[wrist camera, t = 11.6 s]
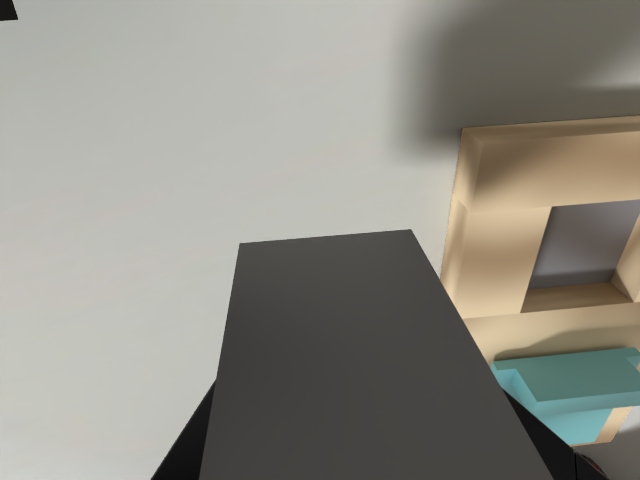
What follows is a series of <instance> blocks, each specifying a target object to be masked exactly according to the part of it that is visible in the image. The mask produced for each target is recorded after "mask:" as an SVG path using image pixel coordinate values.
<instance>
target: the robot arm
mask: <svg viewBox="0 0 640 480" xmlns="http://www.w3.org/2000/svg"><path fill="white" fill-rule="evenodd" d="M215 383H216V380H215V381H214V383H213V384H212V386H211V387H210V389H209V391H208V392H207V394H206V395H205V397H204V398H203V400H202V401H201V403H200V404H199V406H198V407H197V409H196V411H195V412H194V414H193V415H192V417H191V418H190V420H189V421H188V423H187V424H186V426H185V427H184V429H183V431H182V432H181V434H180V435H179V437H178V438H177V440H176V441H175V443H174V444H173V446H172V447H171V449H170V451H169V452H168V454H167V455H166V457H165V458H164V460H163V461H162V463H161V464H160V466H159V467H158V469H157V470H156V472H155V474H154V475H153V477H152V478H151V480H199V476H200V470H201V464H202V459H203V453H204V447H205V441H206V435H207V430H208V424H209V418H210V412H211V407H212V401H213V395H214V389H215ZM501 388H502V387H501ZM502 390H503V392H504V393H505V395H506V397H507V399H508V400H509V402H510V404H511V406H512V407H513V409H514V411H515V413H516V414H517V416H518V418H519V420H520V421H521V423H522V425H523V427H524V428H525V430H526V432H527V434H528V435H529V437H530V439H531V441H532V442H533V444H534V446H535V448H536V449H537V451H538V453H539V455H540V456H541V458H542V460H543V462H544V463H545V465H546V467H547V469H548V470H549V472H550V474H551V476H552V477H553V479H554V480H610V479H608V478H607V477H606V476H605V475H604V474H602V473H601V472H600V471H599V470H598V469H596V468H595V467H594V466H593V465H592V464H590V463H589V462H588V461H587V460H586V459H585V458H583V457H582V456H581V455H580V454H579V453H577V452H574V449H573V448H572V447H570V446H569V445H568V444H567V443H566V442H565V441H563V440H562V439H561V438H560V437H559V436H558V435H556V434H555V433H554V432H553V431H552V430H551V429H549V428H548V427H547V426H546V425H545V424H544V423H543V422H541V421H540V420H539V419H538V418H537V417H536V416H534V415H533V414H532V413H531V412H530V411H529V410H527V409H526V408H525V407H524V406H523V405H522V404H520V403H519V402H518V401H517V400H516V399H515V398H513V397H512V396H511V395H510V394H509V393H508V392H506V391H505V390H504V389H503V388H502Z"/></svg>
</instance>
